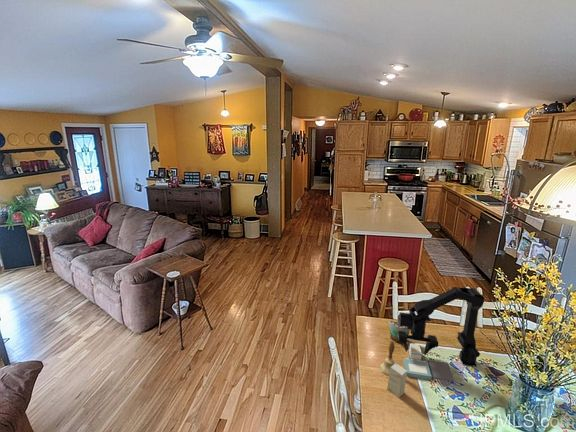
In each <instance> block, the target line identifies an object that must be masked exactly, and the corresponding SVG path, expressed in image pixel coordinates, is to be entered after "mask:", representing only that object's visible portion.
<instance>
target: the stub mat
mask: <svg viewBox="0 0 576 432" xmlns="http://www.w3.org/2000/svg"><path fill="white" fill-rule="evenodd" d="M427 363H428V366H429V369H430V373H431V376H432V379H436V380H442V381H448V382H454V383H455V381H456V380H455V378H454V377H455V376H454V375H453V372H452V370H451V367H450V365H449V363H448V362H446V361H445V362H444V361H439V360H431V359H427Z"/></svg>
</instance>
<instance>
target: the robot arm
mask: <svg viewBox="0 0 576 432" xmlns="http://www.w3.org/2000/svg"><path fill="white" fill-rule="evenodd" d="M457 299H460V300H463V301H465V302H466V312H465V318H464V324H463V330H462V331H461V332H457V337H456V339H457V341H458V343H459V344H460V346H461V350H460V351H459V354H458V358H459V360H460V362H461V364H462V365H463V366H464V365H465V366H470V367H477V366H478V365H477V363H476V362H477V358H479V357H480V356H481V353H480V351H479V349H477V343H476V339H475V338H476V337H475V333H476V332H475V331H476V325H477V320H478V314H479V310H480V309H481V308H482V307H483V306H484V302H485V297H484V296H483V294H482V293H481V292H480V291H479V290H477V289H476V288H473V287H471V288H468V287H465V286H464V287H463V286H462V287H458V286H453V287H452V288H450V289H448V290H447V291H445V292H443V293H440V294H438V295H437V296H435V297H432V298H431V299H423V300H420V301H416V302H415V303H414V305H413V306H412V307H411V308H410V309H409V310H408V312H409V313H408V312H399V314H398V316H397V322H398V325H399V326H405V327H407V329H410V334H411V335H410V334H409V335H406V332H404V331H398V334H397V335H398V341H399V342H401V343H400V344H403V346H404V352H406V353H407V351H408V340H410V341H417V342H425V348H424V352H423V353H424V355H427V354H428V353H429V352H430V351H431V350H432V349H435V348H439V340H438V338H437V336H436V335H433V334H432V335H430V334H427V336H425V334H426V326H427V322H432V319H431V317H430V315H432V314H433V313H434V311H436V310H437V309H439V308H440V307H443V306H445V305H447V304H449V303H451V302H453V301H455V300H457Z"/></svg>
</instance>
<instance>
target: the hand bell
mask: <svg viewBox="0 0 576 432" xmlns="http://www.w3.org/2000/svg"><path fill="white" fill-rule="evenodd" d="M394 351H395V341H393V340H392V341H390V343H389V345H388V357H385V358H384V361H383V363H381V364H380V365H379V369H380V371H381V372H382V373H383V374H384V375H387V376H389V374H390V367H391V366H392V365H393V364H395V363H396V362H395V360H394V358H393V354H394Z"/></svg>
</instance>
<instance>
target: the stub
mask: <svg viewBox="0 0 576 432" xmlns="http://www.w3.org/2000/svg"><path fill="white" fill-rule="evenodd" d="M408 348H409V350H408V354H409V357H410V358H409V359H414V360H420V361H422V355H423V354H422V350H421V347H420V344H418V343H410V344H409V347H408Z"/></svg>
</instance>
